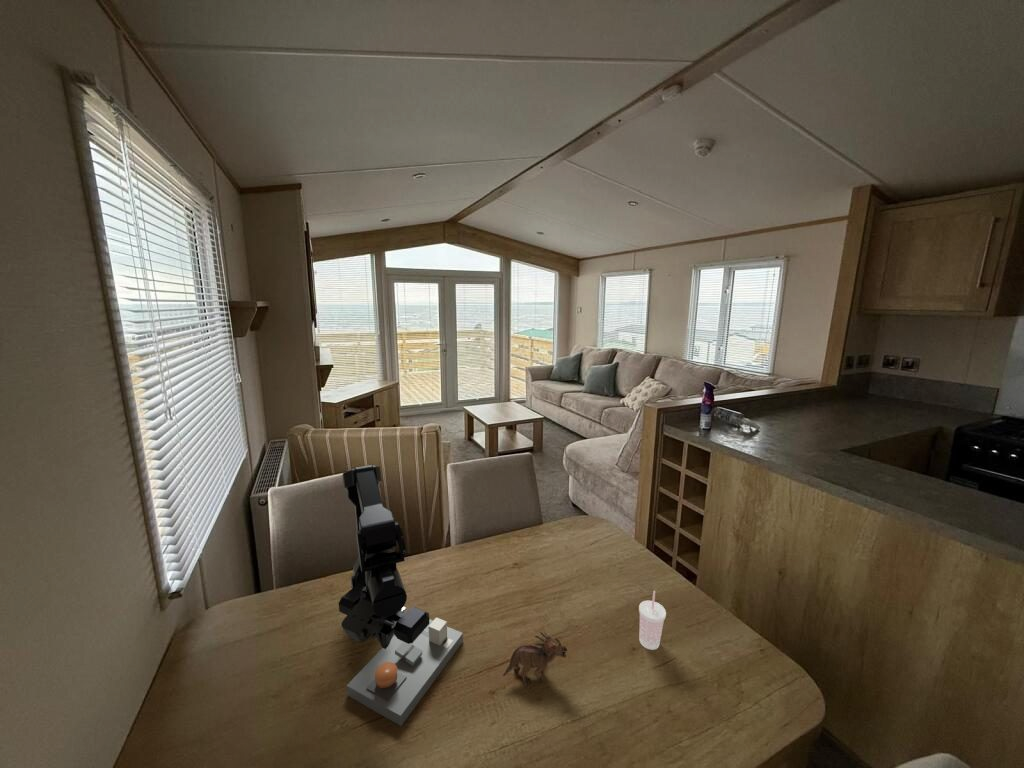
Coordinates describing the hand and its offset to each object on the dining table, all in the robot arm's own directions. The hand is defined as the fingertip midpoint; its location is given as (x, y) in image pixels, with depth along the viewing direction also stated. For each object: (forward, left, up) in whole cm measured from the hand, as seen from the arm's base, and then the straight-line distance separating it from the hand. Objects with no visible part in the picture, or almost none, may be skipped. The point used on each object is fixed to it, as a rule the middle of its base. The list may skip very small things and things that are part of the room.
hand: (385, 646), depth 85 cm
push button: (0, -1, -8) cm, 8 cm away
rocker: (0, +6, -7) cm, 10 cm away
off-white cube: (+3, +13, -8) cm, 16 cm away
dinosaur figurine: (+25, +17, -11) cm, 33 cm away
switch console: (0, +6, -11) cm, 13 cm away
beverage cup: (+47, +37, -11) cm, 61 cm away
